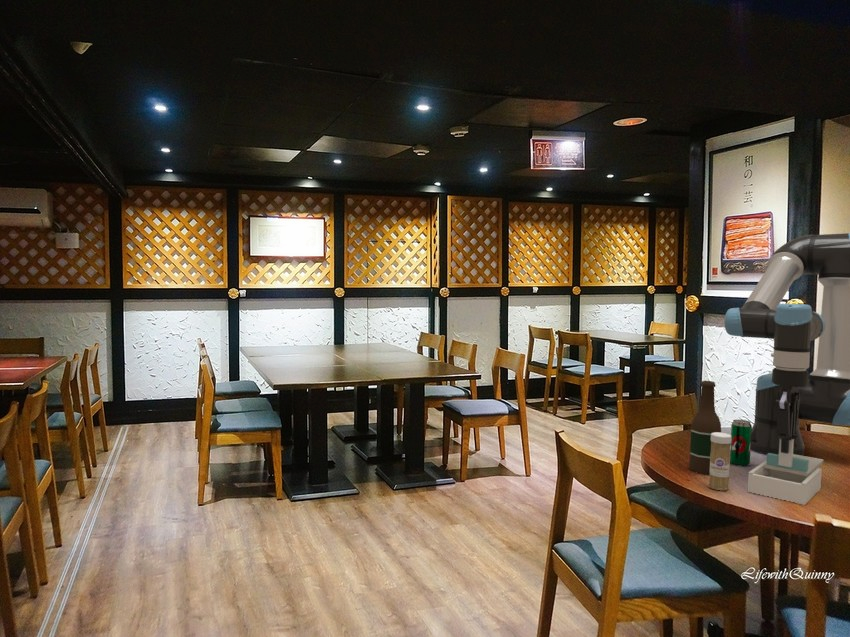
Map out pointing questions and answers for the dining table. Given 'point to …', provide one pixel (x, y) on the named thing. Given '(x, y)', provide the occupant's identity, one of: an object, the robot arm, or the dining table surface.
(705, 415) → the beer bottle
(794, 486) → the mailer box
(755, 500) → the dining table surface
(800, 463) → the lid
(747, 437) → the soda can
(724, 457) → the sprinkles bottle
